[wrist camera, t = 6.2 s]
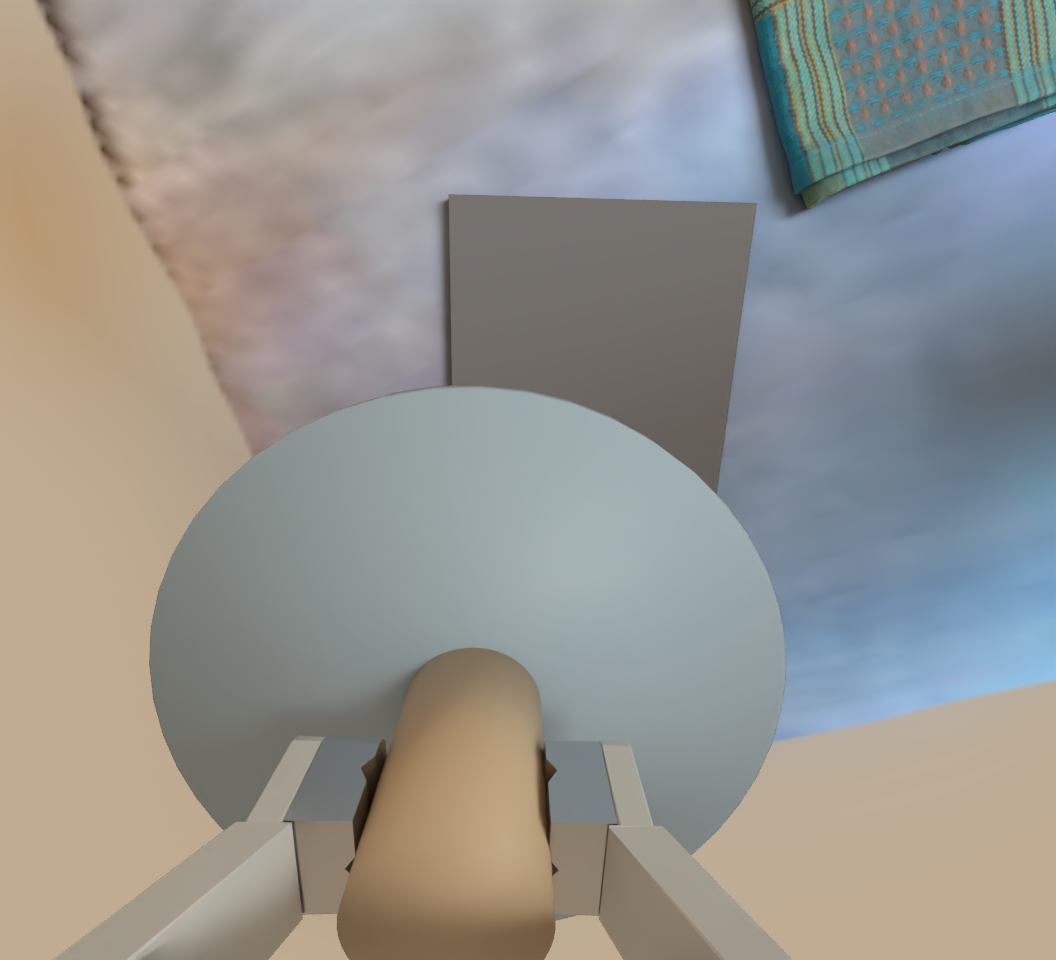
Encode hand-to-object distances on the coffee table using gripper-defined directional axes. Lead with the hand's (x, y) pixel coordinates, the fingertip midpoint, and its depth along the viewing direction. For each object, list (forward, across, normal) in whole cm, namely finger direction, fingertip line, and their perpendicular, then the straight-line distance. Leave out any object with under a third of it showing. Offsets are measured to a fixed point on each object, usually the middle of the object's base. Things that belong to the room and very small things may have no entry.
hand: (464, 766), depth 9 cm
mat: (+20, -5, -7) cm, 22 cm away
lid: (+2, 0, 0) cm, 2 cm away
